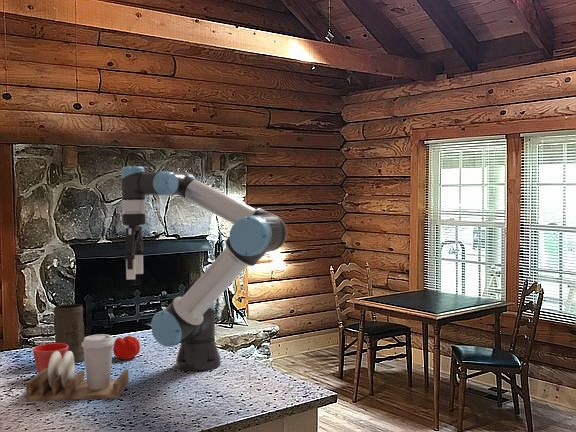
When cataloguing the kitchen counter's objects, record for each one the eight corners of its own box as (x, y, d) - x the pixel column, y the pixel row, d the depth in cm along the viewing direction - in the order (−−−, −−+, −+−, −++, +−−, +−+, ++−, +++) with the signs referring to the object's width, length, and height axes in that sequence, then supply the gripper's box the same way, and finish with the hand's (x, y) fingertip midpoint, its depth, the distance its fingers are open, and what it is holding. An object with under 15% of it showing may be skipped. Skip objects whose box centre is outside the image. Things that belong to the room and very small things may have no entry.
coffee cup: (96, 393, 183) (94, 342, 182) (75, 387, 188) (74, 338, 188) (122, 385, 191) (121, 336, 190) (101, 379, 196) (100, 332, 196)
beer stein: (93, 358, 226) (89, 303, 226) (68, 365, 217) (64, 308, 217) (65, 356, 234) (61, 302, 234) (40, 362, 225) (36, 307, 225)
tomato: (113, 362, 222) (112, 341, 221) (114, 355, 230) (113, 335, 230) (140, 360, 224) (139, 339, 224) (140, 354, 232) (139, 333, 232)
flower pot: (57, 381, 199) (56, 351, 199) (26, 380, 201) (25, 350, 201) (75, 372, 209) (74, 343, 209) (45, 370, 212) (45, 342, 211)
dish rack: (128, 382, 197) (127, 344, 196) (117, 398, 182) (116, 356, 181) (44, 384, 196) (43, 346, 195) (26, 400, 181) (25, 358, 180)
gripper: (130, 212, 221) (131, 272, 221) (113, 214, 196) (115, 282, 197) (151, 211, 221) (152, 271, 222) (137, 214, 196) (139, 281, 197)
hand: (135, 276), depth 209 cm, fingers open, 13 cm apart
